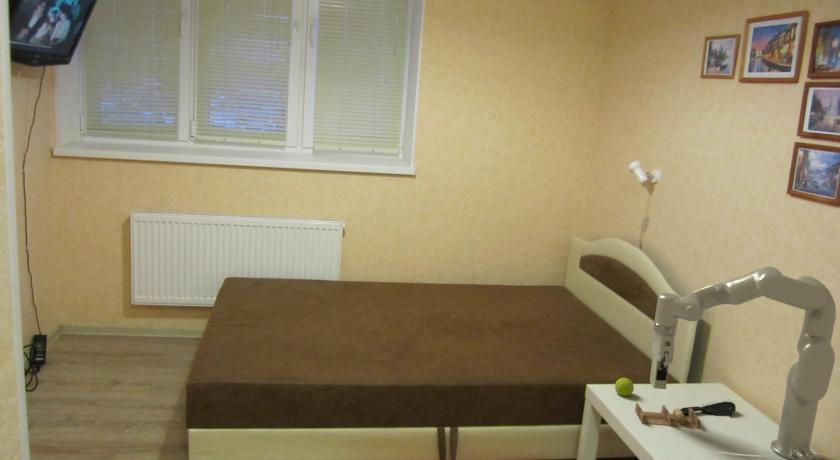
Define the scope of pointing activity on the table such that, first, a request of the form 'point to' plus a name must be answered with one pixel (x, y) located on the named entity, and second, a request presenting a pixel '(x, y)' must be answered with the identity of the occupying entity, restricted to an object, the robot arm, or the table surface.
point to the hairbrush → (714, 409)
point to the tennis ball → (624, 387)
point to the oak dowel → (680, 417)
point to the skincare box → (655, 366)
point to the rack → (667, 418)
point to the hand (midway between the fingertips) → (658, 375)
